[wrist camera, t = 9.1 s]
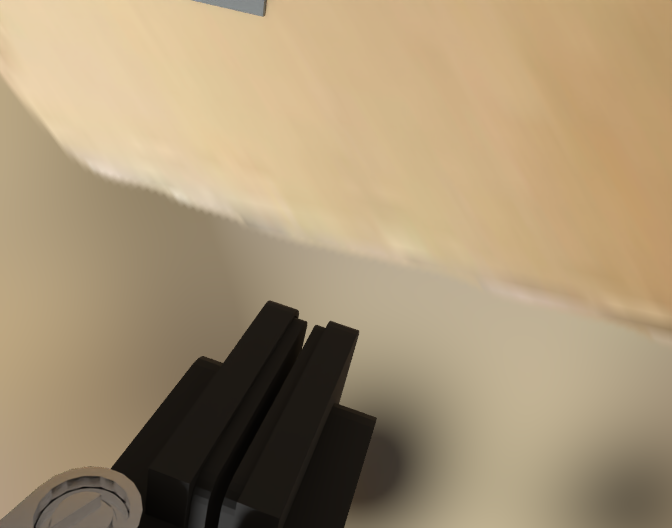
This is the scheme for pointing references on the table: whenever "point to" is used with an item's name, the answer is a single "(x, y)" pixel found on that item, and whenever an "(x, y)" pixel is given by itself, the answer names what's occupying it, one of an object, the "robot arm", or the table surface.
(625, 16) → the table surface
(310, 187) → the table surface
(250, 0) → the mat
